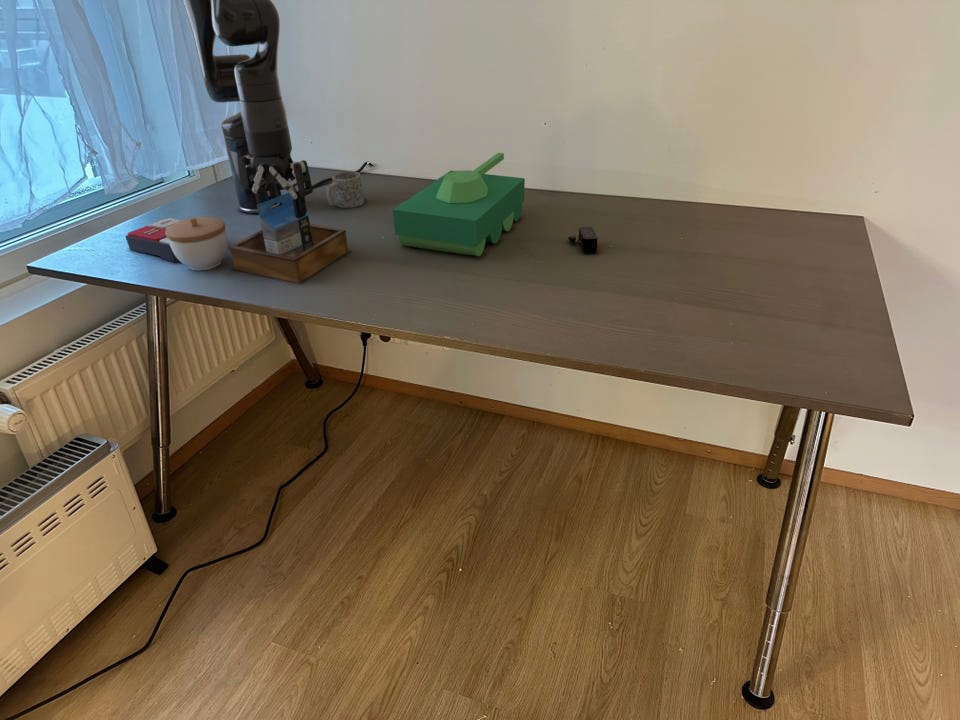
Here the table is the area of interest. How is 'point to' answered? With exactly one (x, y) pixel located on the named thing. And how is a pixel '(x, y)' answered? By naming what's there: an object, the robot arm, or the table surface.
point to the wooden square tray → (296, 269)
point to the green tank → (461, 211)
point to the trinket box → (198, 242)
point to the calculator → (153, 239)
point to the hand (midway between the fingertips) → (282, 214)
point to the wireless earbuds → (586, 239)
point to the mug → (346, 190)
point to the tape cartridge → (284, 227)
